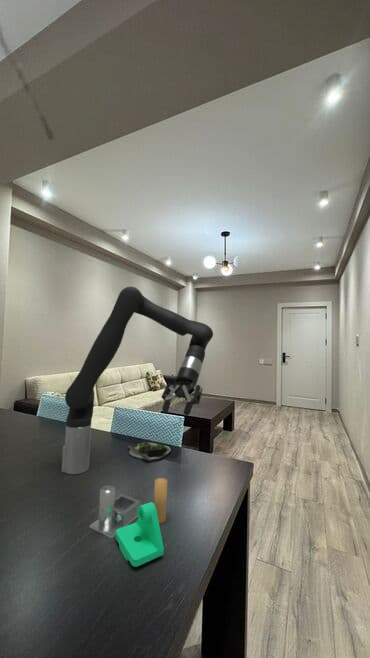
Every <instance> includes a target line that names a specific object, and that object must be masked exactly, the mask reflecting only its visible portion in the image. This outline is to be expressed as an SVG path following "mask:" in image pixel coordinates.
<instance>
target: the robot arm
mask: <svg viewBox="0 0 370 658" xmlns="http://www.w3.org/2000/svg"><path fill="white" fill-rule="evenodd" d="M134 314H138V315H141V316H143V317H146V318H148V319H150V320H152V321H154V322H156V324H160V325H161V326H162V327H164V328H166V329H168V330H170V331H171V332H174V333H175V334H177V335H180V336H181V337H182V336H183V337H184V336H185V335H190V336H191V338H190V340H189V345H188V348H187V351H186V353H185V356H184V358H183V361H182V362H181V364H180V367H179V370H178V373H177V375H176V378H175V383H174V384H171V383H169V382H168V383H167V384H166V385H165V387H164V390H163V393H162V395H161V399H162V400H163V401H164V402H163V405H162V412H163V413H165V414H167V413H168V412H169V409H170V407H171V405H172V404H171V403H172V402H174V401H175V400H177V399H181V398H183V399H186V400H187V402H186V404H185V406H184V409H183V414H184V415H185V416H189V415H190V414H191V412H192V409H193V406H194V405H198V404H200V402H201V401H200V400H201V397H202V394H203V393H202V392H203V388H202V387H201V385H200V384H197V383H198V380H199V377H200V374H201V371H202V367H203V366H202V365H203V363H204V359H205V356H206V349H207V346H208V344H209V342H210V341H212V339H213V336H214V333H213V332H214V331H213V329H212V328H211V327H210V326H209V325H207V324H205V323H203V322H201V321H200V322H199V321H195V320H192V319H191V320H190V319H188V318H186V317H184V316H183V315H181V314H179V313H177V312H174V311H172V310H169V309H168V308H164V307H162V306H160V305H158V304H156V303H154V302H152V301H151V300H149V298H147V297H145V295H143V293H142V292H141V291H140V290H139V289H138V288H136V287H134V286H126V287H124V288H122V290H121V291H120V292H119V294H118V296H117V298H116V301H115V304H114V306H113V307H112V310H111V312H110V315H109V317H108V319H107V320H106V321H105V323H104V325H103V327H102V328H101V330H100V332H99V333H98V335H97V337H96V338H95V340H94V342H93V344H92V346H91V347H90V350H89V352H88V354H87V356H86V359H85V360H84V363H83V364H82V367H81V369H80V371H79V372H78V374H77V375H76V377H75V378H74V380H73V381H72V383H71V384H70V385H69V387H68V388H67V390H66V392H65V397H64V399H65V404H66V406H67V407H68V408H69V410H68V414H67V417H66V419H65V422H66V423H65V440H64V445H63V446H62V454H61V455H62V456H61V457H62V458H61V473H65V474H67V475H78V474H79V475H80V474H83V473H86V472H87V471H88V470H90V457H91V456H90V454H91V436H92V435H91V434H92V419H93V414H94V405H95V403H94V402H95V390H94V388H95V386H96V384H97V382H98V380H99V379H100V377H101V375H102V374H103V373H104V371H106V370H107V367H109V365H110V364H111V363H112V361H113V359H114V357H115V355H116V354H117V352H118V350H119V348H120V346H121V344H122V341H123V337H124V335H125V332H126V328H127V325H128V323H129V321H130V320H131V318H132V316H133V315H134ZM192 394H193V396H192Z"/></svg>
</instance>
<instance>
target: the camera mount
mask: <svg viewBox="0 0 370 658" xmlns="http://www.w3.org/2000/svg"><path fill="white" fill-rule="evenodd" d="M137 514H138V517H137V520H136V522H134V523H130V524H128V525H127V526H125V527H122V528H119V529H117V530H116V535H115V540H116V541H117V543H118V544H119V547H118V548H119V551H120V552H121V554H122V555H123V557H124V559H125V560H126V562H128V561H129V563H130V565H131V566H132V567H139V566H142V565H144V564H146V563H148V562H150V561H152V560H154V559H157V558H159V557H161V556H164V550H165V548H164V543H163V537H162V534H161V529H160V528H161V527H160V523H159V521H158V516H157V511H156V507H155V505H154V501H153V502H152V501H151V502H147V503H144V504H141V506H139V507H138V510H137Z"/></svg>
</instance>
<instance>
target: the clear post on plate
mask: <svg viewBox="0 0 370 658" xmlns="http://www.w3.org/2000/svg"><path fill="white" fill-rule="evenodd" d="M141 505H142V501H141V500H139V499H137V498H135V497H134V498H133V497H132V496H129V495H126V494H123V493H120V494H118V495H117V496H116V487H115V486H114V485H111V484H110V485H105V486H102V487H101V488H100V489H99V507H98V519H96V520H95V521H94V522H93V523H91V524H90V525H89V529H92V530H94V531H96V532H97V533H99V534H102V535H104V536H106V537H108V538H110V539H114V538H115V537H116V530H117V529H119V528H122V527H125V526H127V525H130V524H132V522H133V521H135V520H136V519H138V514H137V510H138V507H139V506H141Z"/></svg>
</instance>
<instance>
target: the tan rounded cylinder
mask: <svg viewBox="0 0 370 658" xmlns="http://www.w3.org/2000/svg"><path fill="white" fill-rule="evenodd" d="M153 491H154V495H153V503H154V505H155V507H156V511H157V516H158V521H159V524H163V523H165V522H166V520H167V517H166V516H167V499H168V495H167V494H168V492H167V491H168V479H167V478H165V477H158V478H156V479H155V480H154V490H153Z"/></svg>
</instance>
